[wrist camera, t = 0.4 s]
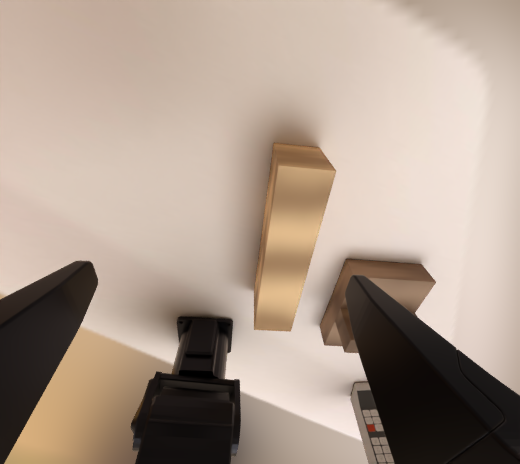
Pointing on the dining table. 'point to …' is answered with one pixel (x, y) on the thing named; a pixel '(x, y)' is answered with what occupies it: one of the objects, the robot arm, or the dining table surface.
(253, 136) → the dining table surface
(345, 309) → the ridge stand
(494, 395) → the robot arm
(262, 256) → the light wooden block
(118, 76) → the dining table surface
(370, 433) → the vintage mobile phone
